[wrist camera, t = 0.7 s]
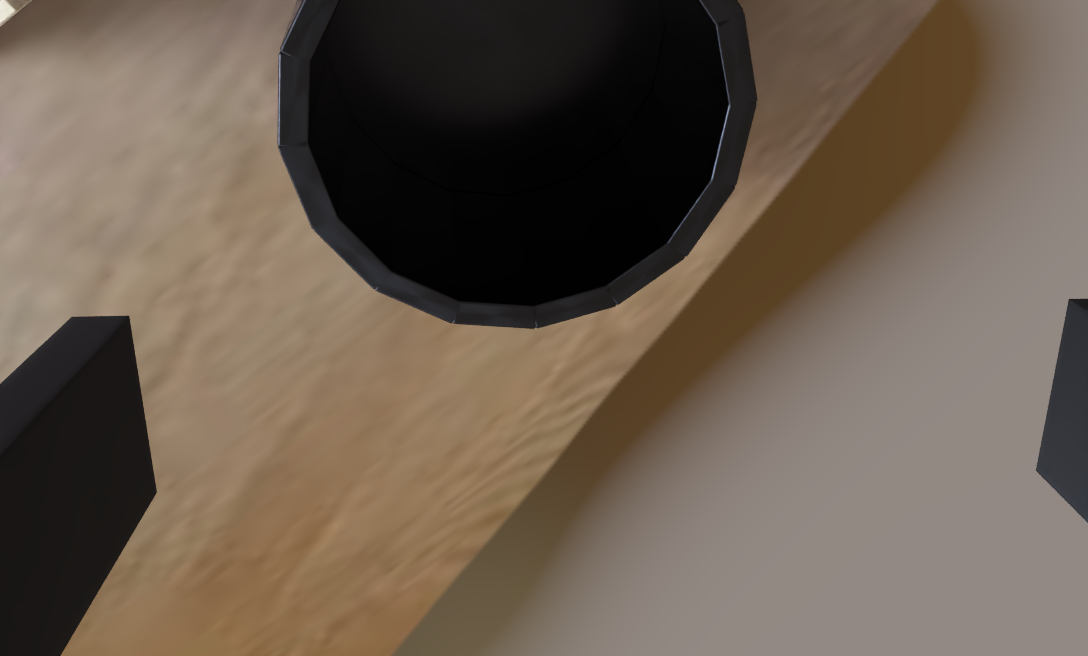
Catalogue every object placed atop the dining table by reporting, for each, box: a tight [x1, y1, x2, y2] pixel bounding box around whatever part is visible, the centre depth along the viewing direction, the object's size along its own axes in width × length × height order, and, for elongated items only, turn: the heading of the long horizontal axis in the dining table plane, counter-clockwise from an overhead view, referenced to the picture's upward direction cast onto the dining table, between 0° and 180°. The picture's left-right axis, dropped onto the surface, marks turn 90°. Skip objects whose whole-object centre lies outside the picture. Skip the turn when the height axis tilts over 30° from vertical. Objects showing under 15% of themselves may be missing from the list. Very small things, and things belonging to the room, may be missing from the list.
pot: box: [278, 0, 757, 329], centre depth 31 cm, size 13×13×8 cm
